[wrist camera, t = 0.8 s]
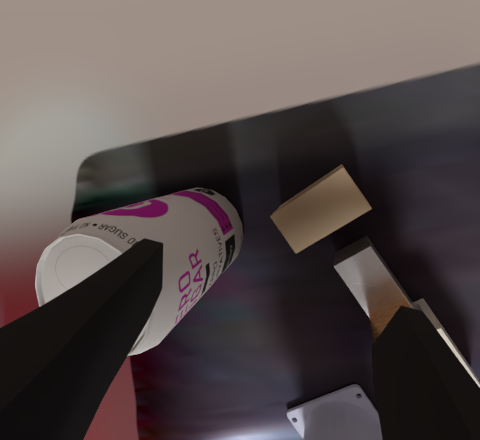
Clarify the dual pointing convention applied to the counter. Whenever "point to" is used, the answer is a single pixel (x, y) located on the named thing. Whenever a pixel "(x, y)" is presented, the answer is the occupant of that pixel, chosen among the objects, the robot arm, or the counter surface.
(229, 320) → the counter surface
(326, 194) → the oak socket
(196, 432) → the counter surface
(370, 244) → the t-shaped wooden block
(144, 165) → the counter surface
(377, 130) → the counter surface
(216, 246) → the supplement can
